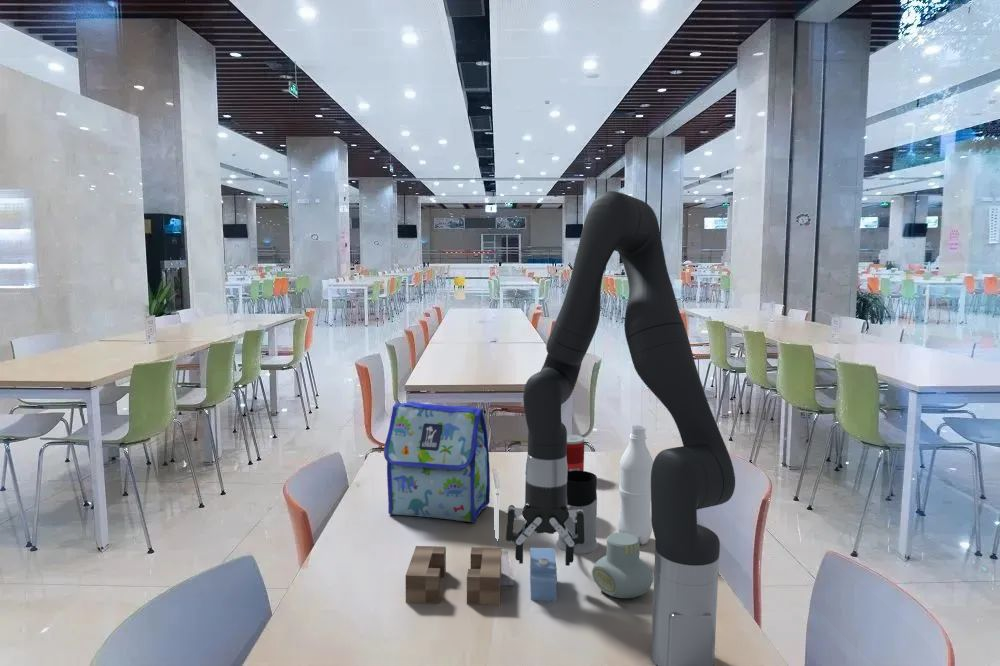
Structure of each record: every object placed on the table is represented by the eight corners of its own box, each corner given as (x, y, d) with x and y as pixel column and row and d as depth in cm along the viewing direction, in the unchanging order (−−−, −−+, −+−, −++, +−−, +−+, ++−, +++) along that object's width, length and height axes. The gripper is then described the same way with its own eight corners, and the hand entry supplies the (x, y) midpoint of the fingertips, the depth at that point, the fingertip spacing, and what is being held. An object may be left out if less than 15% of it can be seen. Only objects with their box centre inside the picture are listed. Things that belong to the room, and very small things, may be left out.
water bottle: (651, 549, 141) (656, 432, 138) (617, 545, 142) (620, 430, 139) (651, 535, 148) (655, 423, 145) (618, 532, 149) (621, 421, 146)
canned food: (588, 475, 187) (589, 436, 186) (575, 483, 181) (576, 443, 179) (563, 470, 191) (564, 432, 190) (550, 478, 185) (551, 439, 183)
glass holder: (605, 542, 144) (606, 474, 142) (573, 567, 132) (575, 494, 130) (568, 532, 149) (570, 466, 147) (535, 556, 137) (536, 485, 135)
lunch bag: (381, 520, 155) (379, 409, 152) (407, 495, 171) (406, 394, 168) (473, 530, 149) (474, 415, 146) (492, 503, 165) (493, 399, 162)
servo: (553, 574, 130) (553, 541, 129) (556, 606, 118) (557, 570, 117) (529, 573, 130) (530, 540, 129) (530, 606, 118) (531, 570, 117)
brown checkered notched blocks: (499, 604, 118) (499, 577, 117) (405, 602, 118) (405, 575, 118) (501, 572, 130) (501, 547, 129) (416, 570, 130) (416, 545, 130)
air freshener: (659, 598, 121) (661, 545, 119) (623, 610, 117) (625, 555, 115) (620, 573, 130) (621, 523, 129) (585, 583, 126) (586, 532, 125)
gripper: (506, 484, 118) (504, 571, 121) (587, 486, 118) (584, 574, 120) (507, 469, 126) (506, 552, 128) (584, 472, 125) (581, 554, 127)
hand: (544, 562), depth 124 cm, fingers open, 8 cm apart
